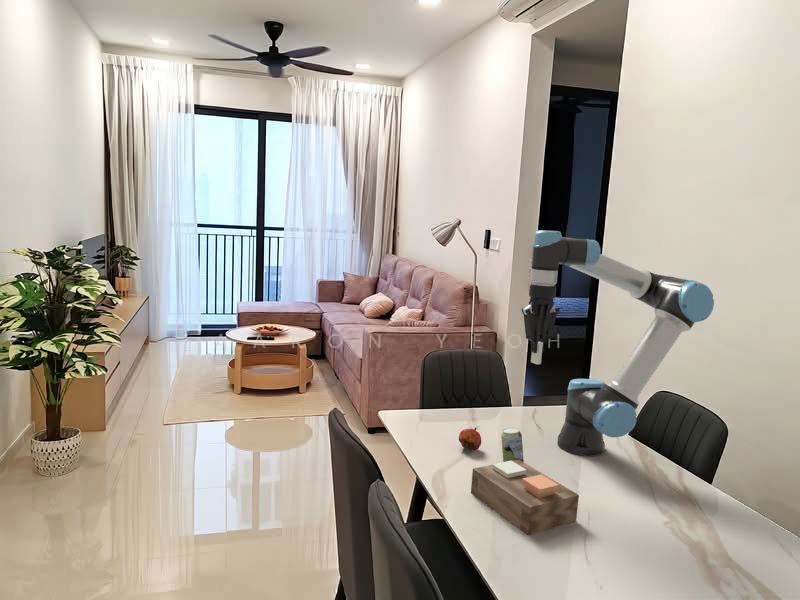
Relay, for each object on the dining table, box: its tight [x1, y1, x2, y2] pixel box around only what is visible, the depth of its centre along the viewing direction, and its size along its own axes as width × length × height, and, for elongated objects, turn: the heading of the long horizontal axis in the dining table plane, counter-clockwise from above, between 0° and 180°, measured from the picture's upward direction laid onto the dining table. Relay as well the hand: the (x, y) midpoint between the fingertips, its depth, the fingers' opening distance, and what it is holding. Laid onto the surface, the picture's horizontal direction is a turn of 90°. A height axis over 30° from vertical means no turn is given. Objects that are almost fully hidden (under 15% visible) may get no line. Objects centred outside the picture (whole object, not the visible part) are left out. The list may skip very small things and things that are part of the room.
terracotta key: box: [522, 474, 560, 498], centre depth 152 cm, size 6×6×8 cm
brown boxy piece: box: [470, 459, 580, 536], centre depth 157 cm, size 16×23×7 cm
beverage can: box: [501, 427, 525, 463], centre depth 180 cm, size 6×7×12 cm
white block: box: [492, 461, 527, 478], centre depth 162 cm, size 6×6×8 cm
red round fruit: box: [458, 427, 482, 454], centre depth 192 cm, size 7×7×10 cm
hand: (535, 363), depth 178 cm, fingers closed
